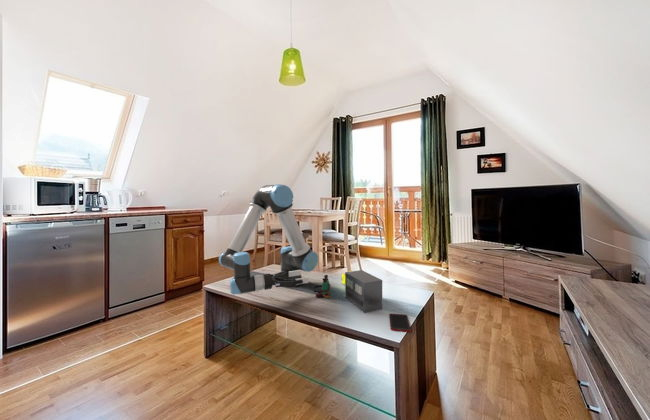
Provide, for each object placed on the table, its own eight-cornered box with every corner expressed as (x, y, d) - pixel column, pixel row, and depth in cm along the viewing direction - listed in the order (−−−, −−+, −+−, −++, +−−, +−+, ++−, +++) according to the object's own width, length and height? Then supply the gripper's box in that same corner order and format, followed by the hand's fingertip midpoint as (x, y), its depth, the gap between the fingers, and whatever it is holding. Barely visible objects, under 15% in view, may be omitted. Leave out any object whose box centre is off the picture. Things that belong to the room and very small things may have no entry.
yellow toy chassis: (363, 290, 149) (363, 276, 149) (355, 292, 147) (355, 277, 146) (349, 282, 164) (349, 269, 163) (341, 284, 161) (341, 270, 161)
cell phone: (390, 331, 104) (390, 329, 104) (389, 315, 118) (389, 313, 118) (411, 333, 102) (411, 331, 102) (407, 316, 117) (407, 314, 117)
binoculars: (313, 274, 147) (330, 274, 145) (315, 293, 147) (332, 292, 145) (309, 279, 138) (328, 278, 136) (311, 299, 138) (330, 298, 137)
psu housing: (344, 298, 137) (344, 272, 137) (361, 295, 141) (361, 270, 141) (363, 312, 120) (363, 282, 119) (382, 309, 124) (382, 280, 123)
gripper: (259, 281, 141) (297, 276, 149) (268, 298, 118) (312, 290, 126) (259, 268, 140) (297, 263, 148) (267, 282, 117) (311, 275, 125)
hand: (304, 276), depth 137 cm, fingers open, 13 cm apart
